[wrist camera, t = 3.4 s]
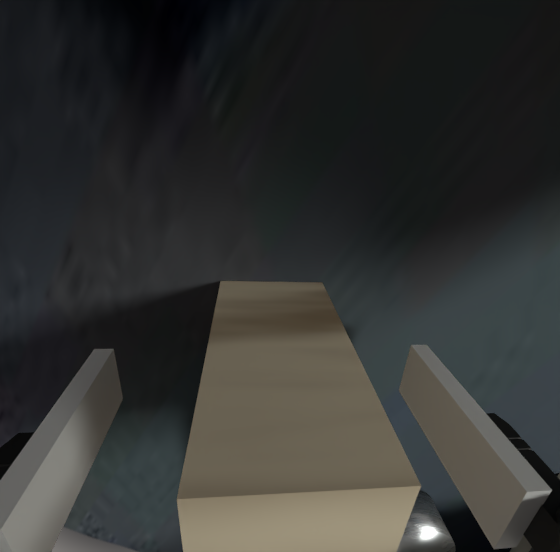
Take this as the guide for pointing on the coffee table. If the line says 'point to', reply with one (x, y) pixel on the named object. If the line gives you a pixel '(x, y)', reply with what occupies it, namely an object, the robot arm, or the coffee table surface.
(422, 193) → the coffee table surface
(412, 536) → the grey rounded puck
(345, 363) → the tan l-shaped block
